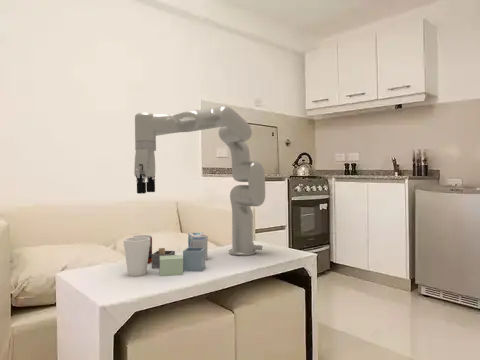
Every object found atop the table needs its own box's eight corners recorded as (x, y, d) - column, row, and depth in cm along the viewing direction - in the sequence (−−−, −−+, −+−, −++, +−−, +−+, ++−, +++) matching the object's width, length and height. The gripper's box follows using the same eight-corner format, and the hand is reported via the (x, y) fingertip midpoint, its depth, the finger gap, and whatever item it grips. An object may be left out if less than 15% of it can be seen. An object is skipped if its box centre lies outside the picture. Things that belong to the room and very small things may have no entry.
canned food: (147, 265, 148) (147, 238, 148) (128, 264, 150) (128, 237, 150) (155, 261, 156) (155, 235, 156) (137, 260, 157) (137, 234, 157)
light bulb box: (187, 257, 164) (187, 232, 164) (202, 256, 167) (202, 232, 166) (192, 262, 154) (192, 236, 154) (208, 261, 156) (208, 235, 156)
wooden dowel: (165, 265, 146) (165, 248, 146) (164, 267, 144) (163, 249, 144) (160, 265, 146) (159, 248, 146) (158, 267, 144) (157, 249, 144)
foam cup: (151, 277, 131) (150, 240, 131) (123, 279, 128) (123, 241, 128) (149, 270, 140) (149, 236, 140) (124, 272, 138) (123, 237, 137)
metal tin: (174, 265, 149) (174, 250, 149) (169, 270, 142) (169, 254, 142) (158, 265, 149) (157, 250, 149) (152, 269, 142) (151, 254, 142)
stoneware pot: (205, 268, 144) (205, 247, 144) (201, 272, 137) (201, 251, 137) (187, 267, 145) (187, 247, 145) (183, 272, 138) (182, 250, 138)
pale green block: (181, 271, 139) (181, 254, 139) (182, 276, 133) (182, 258, 133) (159, 273, 137) (159, 255, 137) (160, 277, 131) (160, 259, 131)
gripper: (144, 148, 147) (144, 191, 147) (126, 145, 130) (127, 194, 130) (162, 148, 146) (163, 191, 146) (147, 144, 129) (147, 193, 129)
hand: (146, 192), depth 138 cm, fingers open, 9 cm apart
